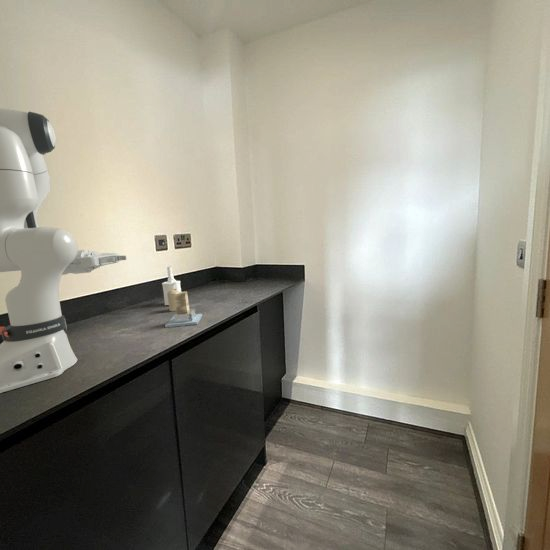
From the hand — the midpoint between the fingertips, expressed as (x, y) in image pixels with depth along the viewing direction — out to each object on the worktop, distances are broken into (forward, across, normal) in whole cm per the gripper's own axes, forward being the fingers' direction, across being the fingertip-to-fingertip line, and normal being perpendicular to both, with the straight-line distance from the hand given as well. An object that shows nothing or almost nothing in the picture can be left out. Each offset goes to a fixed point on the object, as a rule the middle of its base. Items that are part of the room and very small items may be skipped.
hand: (120, 258), depth 112 cm
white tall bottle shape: (+8, +37, +27) cm, 47 cm away
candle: (+12, +23, +28) cm, 38 cm away
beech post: (+21, +1, +27) cm, 34 cm away
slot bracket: (+21, +1, +27) cm, 34 cm away
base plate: (+21, +1, +28) cm, 35 cm away
